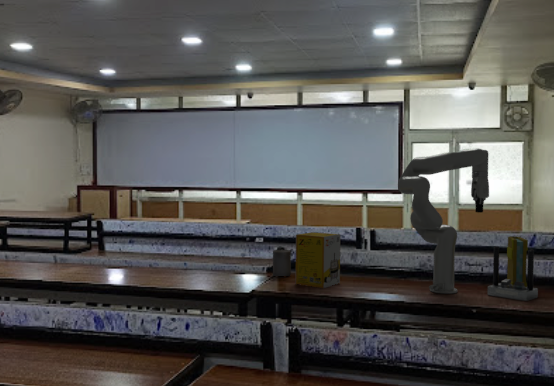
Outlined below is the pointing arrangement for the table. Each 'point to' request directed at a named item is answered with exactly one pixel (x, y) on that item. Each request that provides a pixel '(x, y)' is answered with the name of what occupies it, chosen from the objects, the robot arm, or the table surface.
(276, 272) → the gray lidded canister
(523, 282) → the paddle
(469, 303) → the table surface
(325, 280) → the packaging box
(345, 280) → the table surface
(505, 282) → the paddle
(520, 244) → the book
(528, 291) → the gray double-post stand
